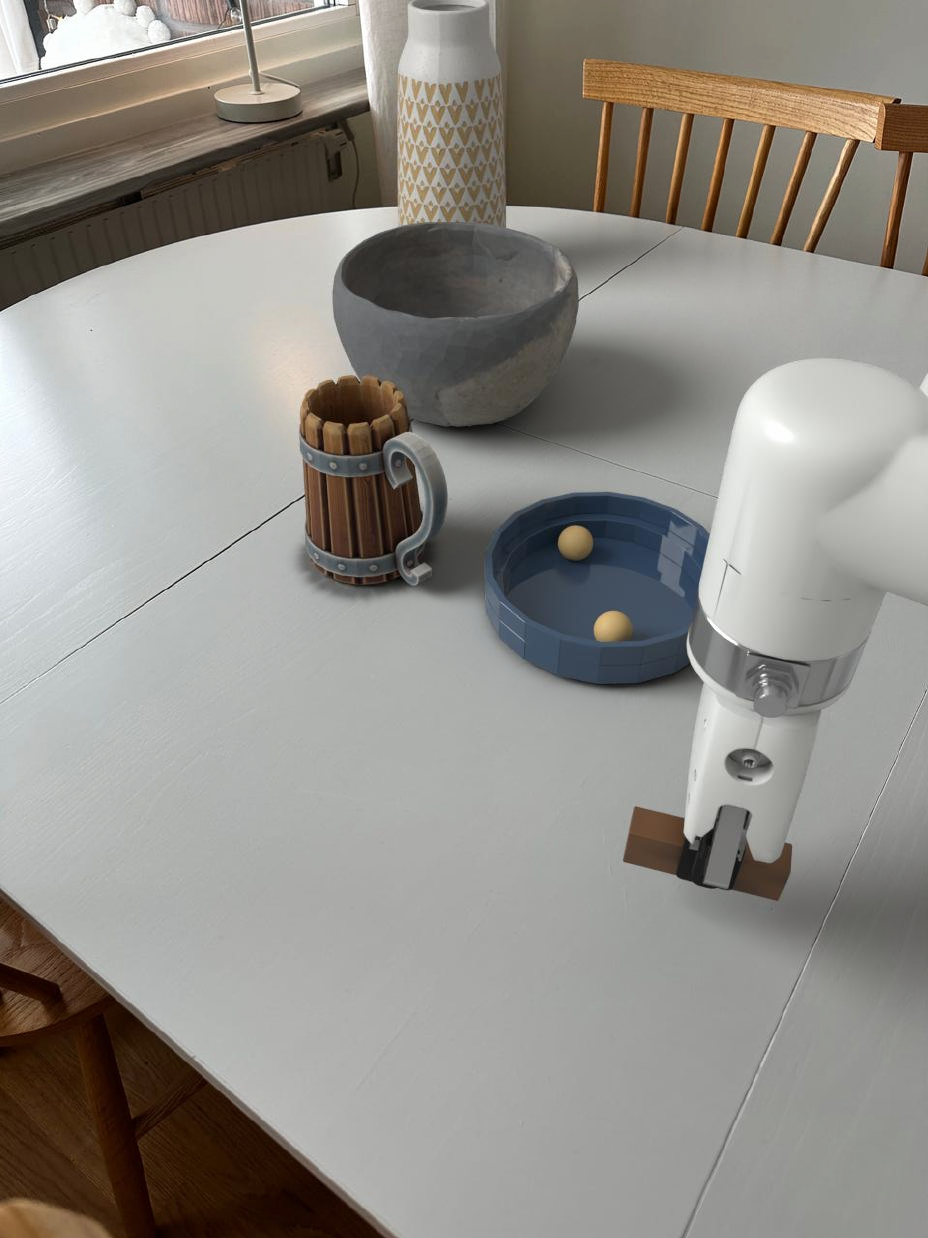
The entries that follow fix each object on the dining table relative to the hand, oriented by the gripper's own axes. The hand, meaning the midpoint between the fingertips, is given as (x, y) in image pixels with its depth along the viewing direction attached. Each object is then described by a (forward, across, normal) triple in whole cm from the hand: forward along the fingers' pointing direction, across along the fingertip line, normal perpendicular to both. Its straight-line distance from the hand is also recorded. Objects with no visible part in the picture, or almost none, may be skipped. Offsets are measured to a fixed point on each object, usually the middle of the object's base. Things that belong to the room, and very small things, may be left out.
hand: (706, 859), depth 57 cm
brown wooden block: (+1, 0, 0) cm, 1 cm away
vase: (+6, +85, +42) cm, 95 cm away
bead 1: (+3, +31, +14) cm, 34 cm away
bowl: (+6, +54, +32) cm, 63 cm away
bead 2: (+3, +21, +9) cm, 23 cm away
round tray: (+5, +26, +11) cm, 29 cm away
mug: (+6, +26, +30) cm, 40 cm away
